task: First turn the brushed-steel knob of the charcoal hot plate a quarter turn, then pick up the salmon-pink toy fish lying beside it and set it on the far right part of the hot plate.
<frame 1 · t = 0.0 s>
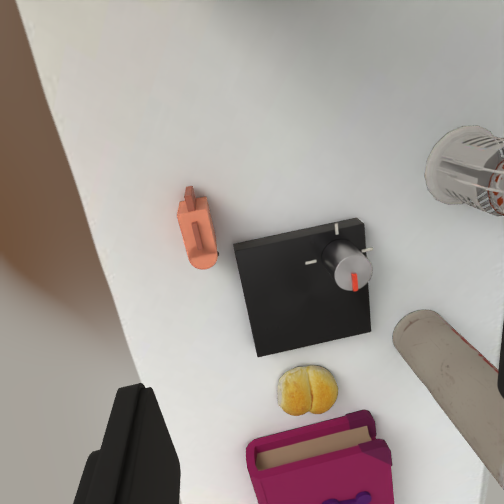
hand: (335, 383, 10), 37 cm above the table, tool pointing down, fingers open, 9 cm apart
french press: (455, 165, 47), on the table
hot plate: (303, 285, 51), on the table
thermos bottle: (417, 331, 57), on the table
book: (319, 480, 67), on the table
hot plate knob: (346, 264, 45), point 5 cm above the table, hinge at 0.0°
bread roll: (303, 384, 58), on the table
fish: (198, 219, 46), on the table
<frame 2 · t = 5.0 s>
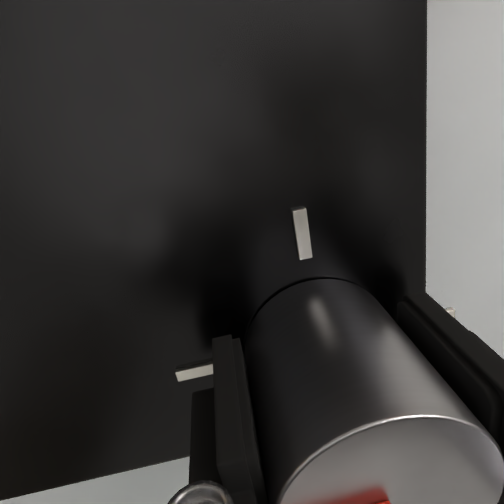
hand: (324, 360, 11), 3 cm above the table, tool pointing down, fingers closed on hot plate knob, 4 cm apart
hot plate: (138, 209, 12), on the table
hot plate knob: (347, 410, 9), point 5 cm above the table, hinge at -0.1°, touching gripper
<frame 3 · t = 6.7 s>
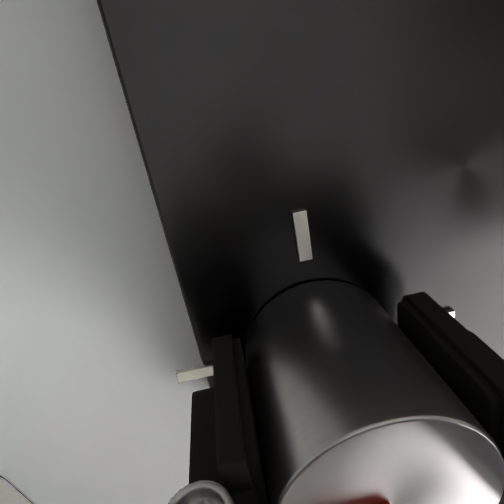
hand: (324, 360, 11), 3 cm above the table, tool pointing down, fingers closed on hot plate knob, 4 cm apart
hot plate: (415, 153, 12), on the table
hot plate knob: (347, 411, 9), point 5 cm above the table, hinge at 90.3°, touching gripper
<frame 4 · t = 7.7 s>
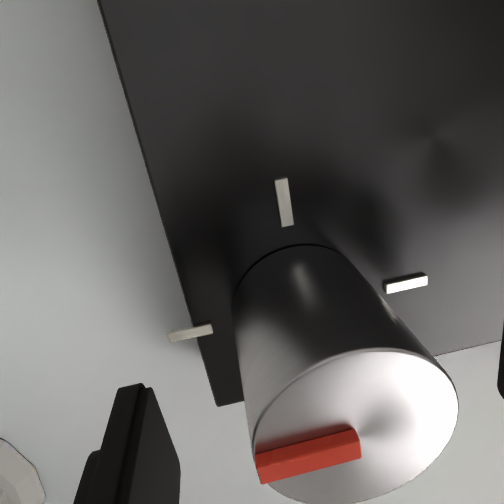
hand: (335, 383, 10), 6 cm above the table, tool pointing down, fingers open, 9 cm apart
hot plate: (393, 129, 13), on the table
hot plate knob: (323, 361, 10), point 5 cm above the table, hinge at 91.5°
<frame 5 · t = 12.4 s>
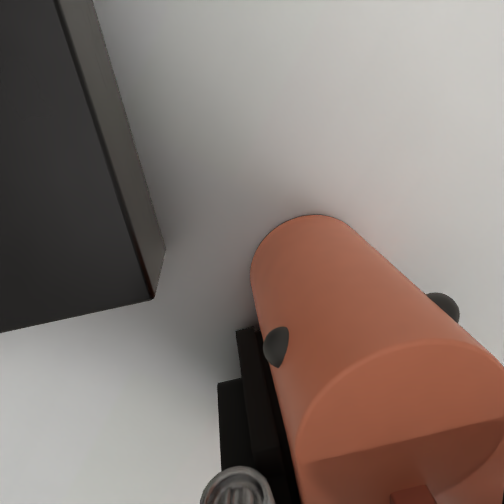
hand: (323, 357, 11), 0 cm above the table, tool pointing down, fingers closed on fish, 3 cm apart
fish: (319, 348, 11), on the table, touching gripper
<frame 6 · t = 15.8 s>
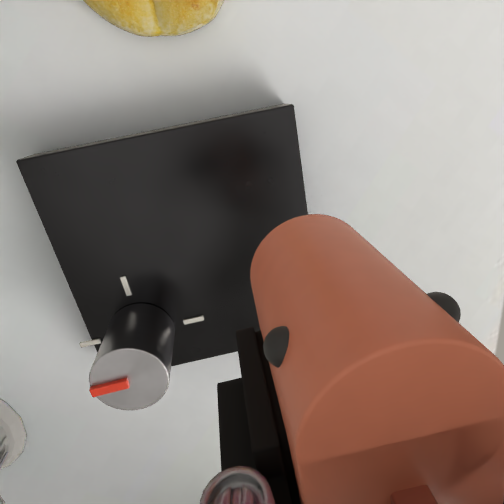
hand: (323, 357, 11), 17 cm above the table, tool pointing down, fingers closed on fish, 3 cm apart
hot plate: (191, 244, 27), on the table
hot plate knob: (136, 355, 24), point 5 cm above the table, hinge at 91.5°
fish: (319, 348, 11), point 16 cm above the table, touching gripper
when the fingers open (3 cm above the table, at t = 19.2 s): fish stays where it is, resting on hot plate.
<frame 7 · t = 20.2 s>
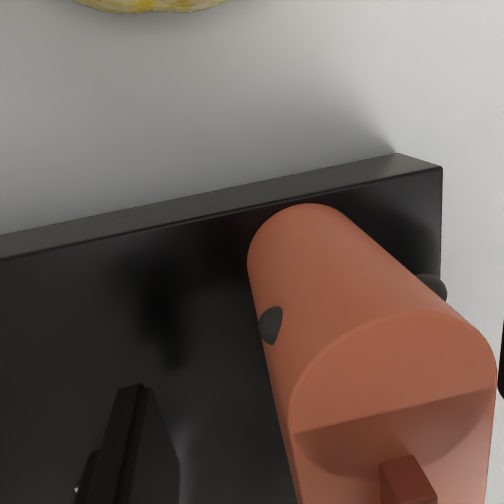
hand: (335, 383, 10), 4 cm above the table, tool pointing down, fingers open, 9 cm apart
hot plate: (210, 394, 15), on the table
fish: (314, 335, 12), point 2 cm above the table, touching hot plate
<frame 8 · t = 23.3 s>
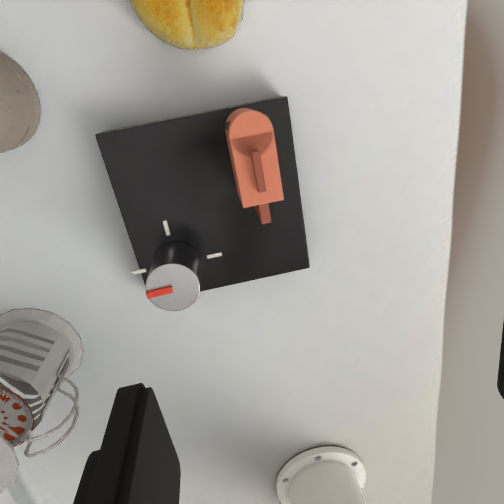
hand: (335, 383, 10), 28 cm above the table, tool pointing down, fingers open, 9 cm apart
french press: (44, 347, 41), on the table
hot plate: (212, 200, 37), on the table
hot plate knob: (174, 275, 33), point 5 cm above the table, hinge at 91.5°
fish: (249, 159, 33), point 2 cm above the table, touching hot plate
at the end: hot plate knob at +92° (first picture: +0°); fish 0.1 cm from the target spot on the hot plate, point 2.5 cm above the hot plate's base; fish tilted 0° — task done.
